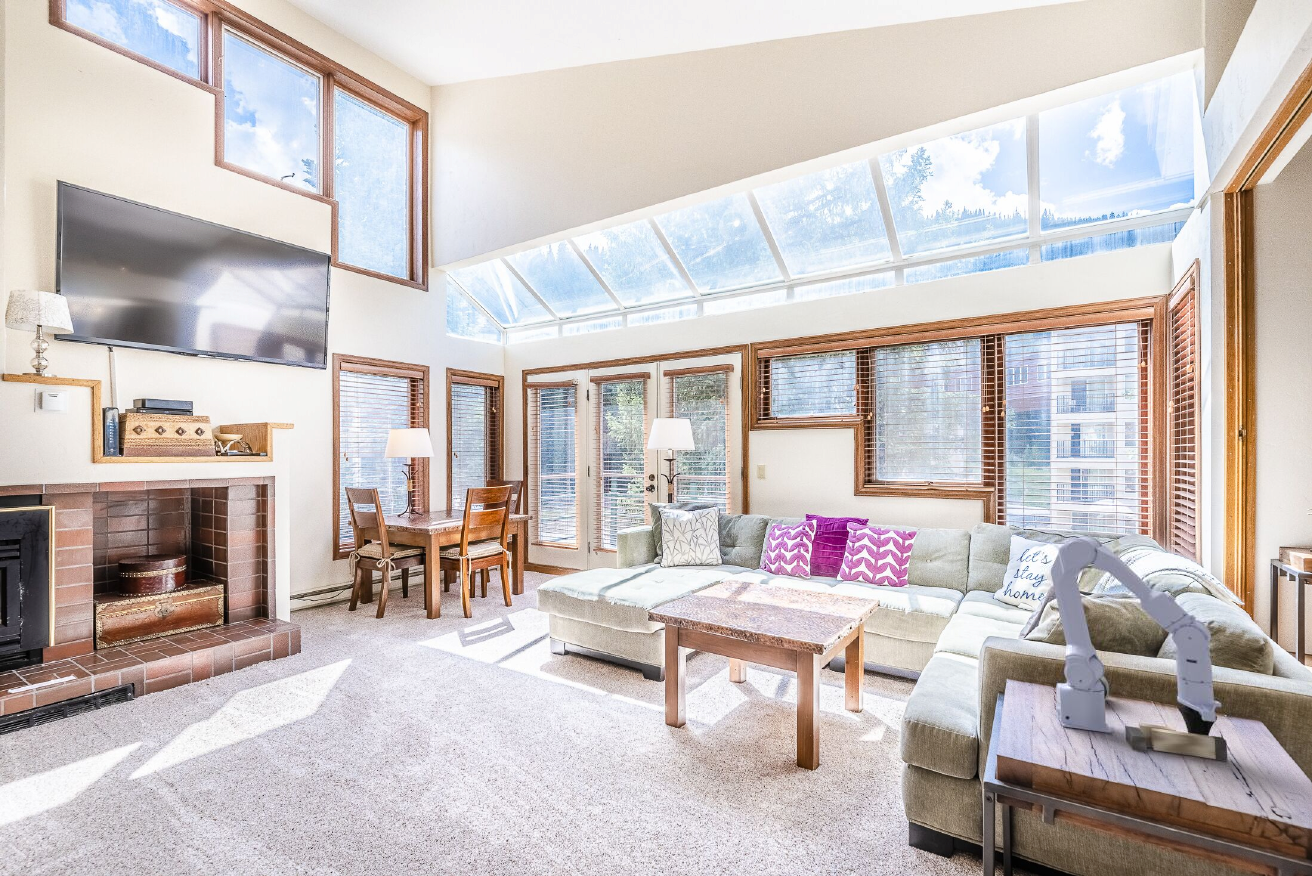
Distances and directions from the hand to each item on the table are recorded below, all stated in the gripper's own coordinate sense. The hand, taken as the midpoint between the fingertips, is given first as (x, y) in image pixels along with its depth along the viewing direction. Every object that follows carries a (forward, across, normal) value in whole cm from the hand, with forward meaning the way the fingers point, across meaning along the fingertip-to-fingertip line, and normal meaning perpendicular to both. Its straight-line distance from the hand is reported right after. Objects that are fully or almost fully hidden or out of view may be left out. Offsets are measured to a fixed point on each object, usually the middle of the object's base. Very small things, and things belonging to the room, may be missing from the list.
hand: (1198, 744), depth 130 cm
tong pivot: (+2, -2, +8) cm, 9 cm away
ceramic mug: (+2, +28, +15) cm, 32 cm away
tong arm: (+1, -3, +3) cm, 4 cm away
